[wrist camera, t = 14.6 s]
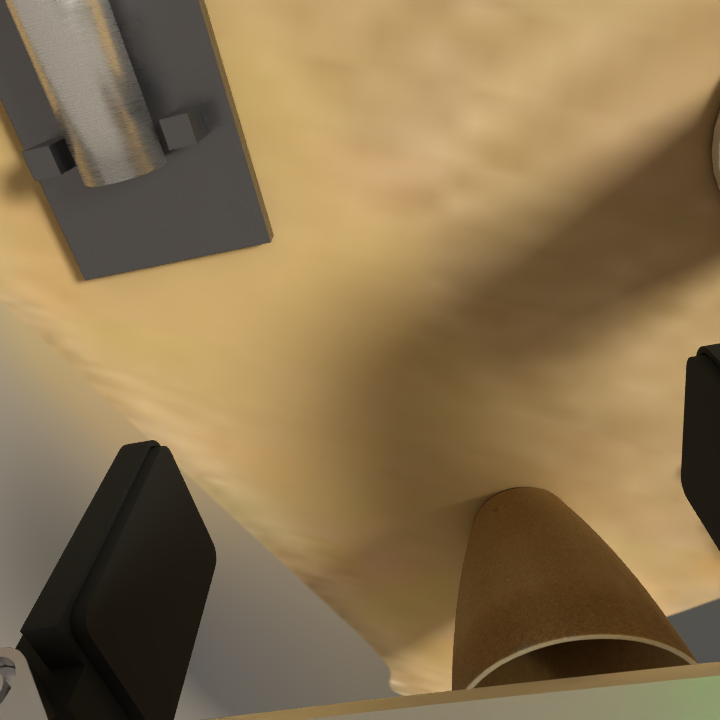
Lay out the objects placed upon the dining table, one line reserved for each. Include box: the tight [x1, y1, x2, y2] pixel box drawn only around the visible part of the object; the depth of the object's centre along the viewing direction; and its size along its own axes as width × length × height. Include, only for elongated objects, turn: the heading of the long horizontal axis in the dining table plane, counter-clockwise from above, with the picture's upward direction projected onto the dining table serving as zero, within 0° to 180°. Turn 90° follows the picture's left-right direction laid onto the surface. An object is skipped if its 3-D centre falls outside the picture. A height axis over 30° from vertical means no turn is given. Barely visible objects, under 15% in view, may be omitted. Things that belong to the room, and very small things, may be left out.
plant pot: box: [452, 487, 699, 691], centre depth 44 cm, size 15×15×16 cm
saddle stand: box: [0, 0, 274, 280], centre depth 28 cm, size 12×28×10 cm, turn 12°
